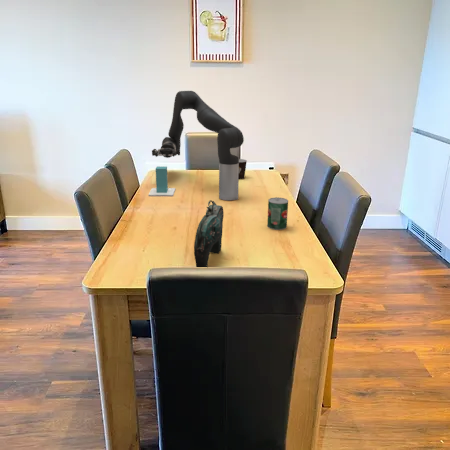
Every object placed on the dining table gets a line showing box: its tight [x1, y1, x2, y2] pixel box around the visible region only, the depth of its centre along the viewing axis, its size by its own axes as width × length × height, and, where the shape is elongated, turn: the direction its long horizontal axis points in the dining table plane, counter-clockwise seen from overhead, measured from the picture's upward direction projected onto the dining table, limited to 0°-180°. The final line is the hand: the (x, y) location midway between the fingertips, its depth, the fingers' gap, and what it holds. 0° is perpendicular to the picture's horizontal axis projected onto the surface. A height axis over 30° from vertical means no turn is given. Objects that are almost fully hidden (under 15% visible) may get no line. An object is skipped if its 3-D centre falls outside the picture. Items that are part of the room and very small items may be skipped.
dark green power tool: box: [193, 199, 225, 268], centre depth 146 cm, size 20×6×20 cm, turn 163°
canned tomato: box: [266, 196, 289, 231], centre depth 177 cm, size 8×8×11 cm
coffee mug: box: [238, 158, 248, 180], centre depth 252 cm, size 12×9×10 cm
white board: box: [148, 187, 176, 197], centre depth 223 cm, size 12×12×1 cm
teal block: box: [155, 166, 169, 193], centre depth 221 cm, size 5×5×12 cm
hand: (164, 154), depth 223 cm, fingers open, 8 cm apart
